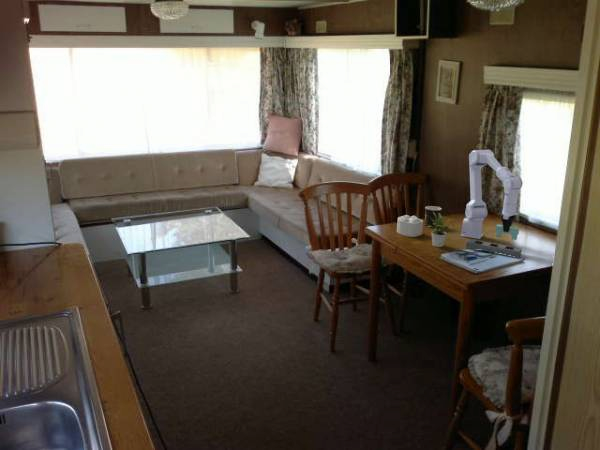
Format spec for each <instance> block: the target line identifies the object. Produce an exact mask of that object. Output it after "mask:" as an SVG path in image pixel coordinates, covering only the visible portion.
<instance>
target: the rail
mask: <svg viewBox="0 0 600 450" xmlns="http://www.w3.org/2000/svg"><path fill="white" fill-rule="evenodd" d="M465 245H466V246H465V248H466V249H468V250H472V249H482V250H487V251H492V252H497V253H502V254H506V255H511V256H515V257H514V258H516V257H518V258H517V259H520V257H521V255H522V250H523V248H521V247H516V246H511V245H506V244H504V245H503V244H500V243H493V242H488V241H482V240H479V239H477V240H476V239H473V238H471V239H468V240H467V242H466V244H465Z"/></svg>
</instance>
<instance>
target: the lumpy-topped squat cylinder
mask: <svg viewBox="0 0 600 450" xmlns="http://www.w3.org/2000/svg"><path fill="white" fill-rule="evenodd" d="M396 224H397V225H396V233H398V234H399V235H402V236H405V237H410V238H415V237H418V236H421V235H423V227H424V220H423V219H421V218H418V217H417V216H416V215H412V216H410V215H408V214H405V215H402V216H398V217H397V223H396Z"/></svg>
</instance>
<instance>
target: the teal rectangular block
mask: <svg viewBox="0 0 600 450" xmlns="http://www.w3.org/2000/svg"><path fill="white" fill-rule="evenodd" d="M519 233H520V227H517V226H512V225H511V226H510V229H509V231H508V232H504V231H503V224H496V225H495V238H501V237H502V236H503V235H502V234H506V235H507V234H508V235H511V240H514V241H516V240H517V239H518V235H519Z"/></svg>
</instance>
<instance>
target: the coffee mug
mask: <svg viewBox="0 0 600 450" xmlns="http://www.w3.org/2000/svg"><path fill="white" fill-rule="evenodd" d="M424 211H425V212H424V213H425V214H424V217H425V218H424V220H425V227H426V228H432V229H435V228H434V227H435V225H434V224H433V223H434V220H435V221H436V219H435V215H434V213H435V214H436V216H437V221H438V214H440V215H442V214H441V213H442V208H441V207H440V206H434V205H433V206H432V205H431V206H430V205H428V206H425V207H424ZM433 212H434V213H433ZM427 215H428V216H427ZM429 217H430V218H429ZM432 220H433V221H432ZM428 224H429V225H428ZM428 226H431V227H428ZM432 226H433V227H432Z"/></svg>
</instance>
